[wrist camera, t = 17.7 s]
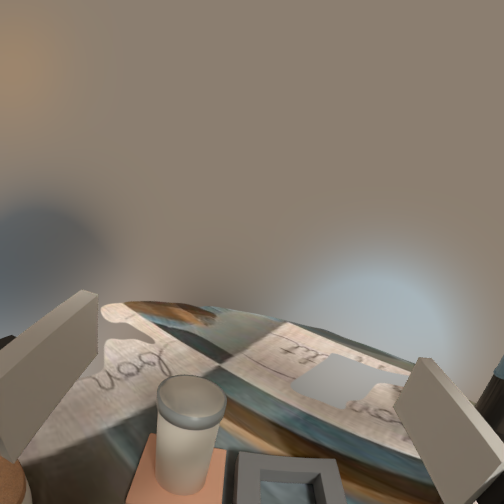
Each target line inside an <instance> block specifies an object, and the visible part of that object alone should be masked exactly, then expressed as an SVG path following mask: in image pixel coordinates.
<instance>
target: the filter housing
mask: <svg viewBox="0 0 504 504" xmlns="http://www.w3.org/2000/svg"><path fill="white" fill-rule="evenodd" d="M260 481H268V482H281V483H300V484H313V487H314V493H315V499H316V504H347V502H346V498H345V494H344V490H343V486H342V482H341V478H340V475H339V471H338V467H337V463H336V460H335V459H316V458H297V457H284V456H274V455H264V454H256V453H249V452H242V451H239V453H238V456H237V459H236V462H235V472H234V489H233V504H261V498H260Z"/></svg>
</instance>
